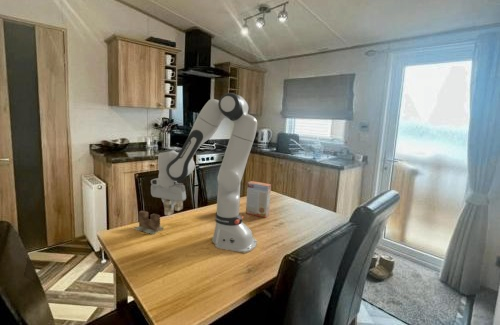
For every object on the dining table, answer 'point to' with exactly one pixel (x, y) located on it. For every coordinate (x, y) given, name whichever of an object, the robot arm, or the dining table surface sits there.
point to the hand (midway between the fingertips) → (168, 206)
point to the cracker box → (258, 199)
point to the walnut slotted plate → (149, 223)
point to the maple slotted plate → (177, 207)
